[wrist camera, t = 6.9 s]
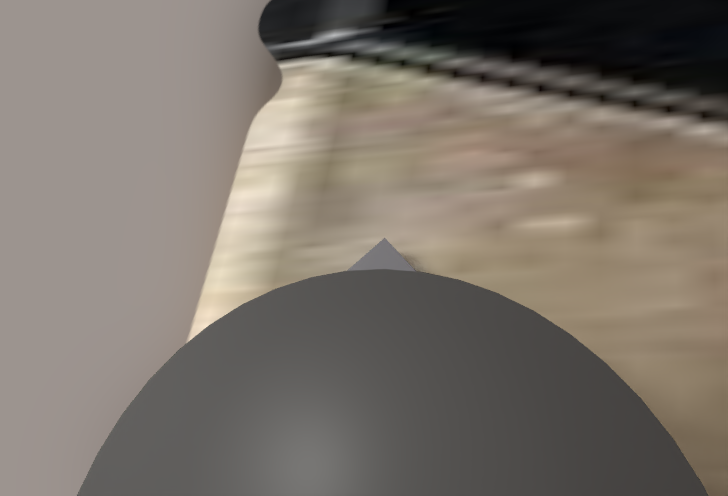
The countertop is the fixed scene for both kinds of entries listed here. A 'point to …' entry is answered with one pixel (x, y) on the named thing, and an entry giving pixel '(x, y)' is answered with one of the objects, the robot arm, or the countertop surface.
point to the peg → (387, 403)
